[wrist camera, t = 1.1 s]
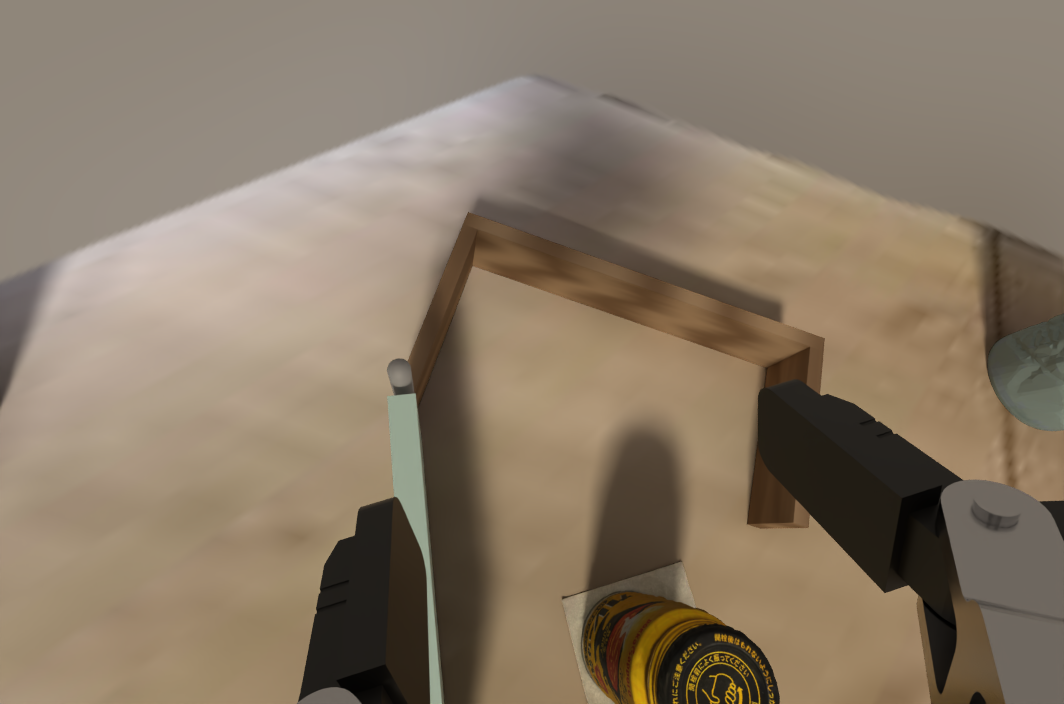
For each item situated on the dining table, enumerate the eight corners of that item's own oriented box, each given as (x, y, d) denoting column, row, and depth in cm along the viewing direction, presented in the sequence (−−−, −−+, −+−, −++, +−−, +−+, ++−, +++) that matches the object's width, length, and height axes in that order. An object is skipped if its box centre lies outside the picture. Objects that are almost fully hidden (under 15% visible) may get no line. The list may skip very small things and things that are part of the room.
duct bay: (400, 411, 35) (395, 392, 30) (464, 250, 39) (468, 212, 35) (760, 528, 36) (808, 527, 32) (780, 360, 41) (824, 338, 36)
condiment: (560, 599, 33) (626, 633, 22) (680, 561, 35) (797, 574, 24) (593, 731, 31) (685, 843, 20) (718, 682, 33) (866, 759, 22)
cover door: (401, 419, 34) (384, 359, 23) (419, 417, 35) (412, 357, 23) (432, 836, 28) (431, 1060, 16) (455, 829, 28) (470, 1045, 16)
